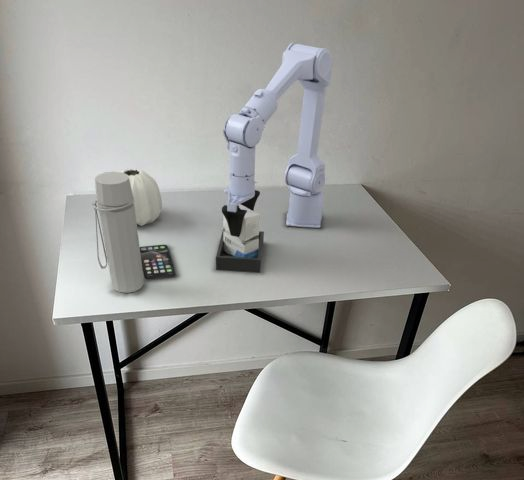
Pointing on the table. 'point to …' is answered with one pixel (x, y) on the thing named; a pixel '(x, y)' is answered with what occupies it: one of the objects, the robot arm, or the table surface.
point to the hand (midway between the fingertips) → (241, 227)
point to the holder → (239, 259)
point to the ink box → (243, 236)
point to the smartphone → (156, 262)
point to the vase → (144, 196)
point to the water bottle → (119, 231)
